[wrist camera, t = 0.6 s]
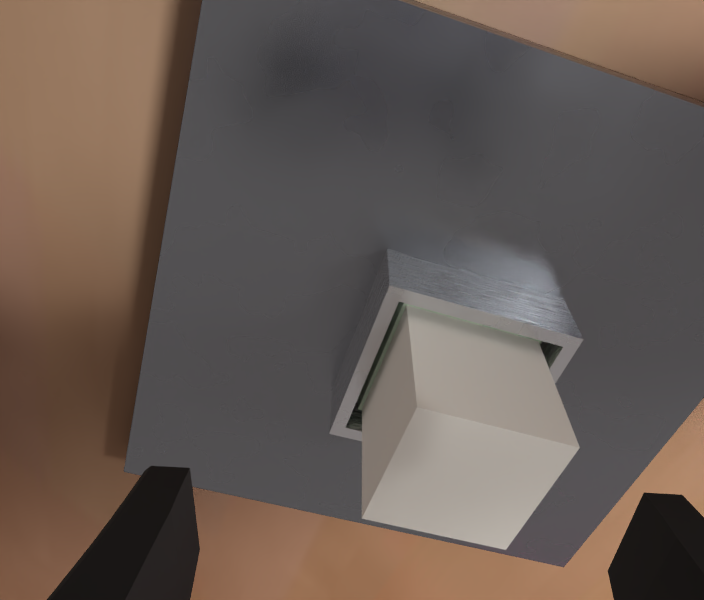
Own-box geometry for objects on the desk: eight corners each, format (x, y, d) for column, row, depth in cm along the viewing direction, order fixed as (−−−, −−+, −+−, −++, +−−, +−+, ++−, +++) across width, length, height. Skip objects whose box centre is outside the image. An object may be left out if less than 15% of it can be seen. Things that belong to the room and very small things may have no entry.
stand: (864, 158, 17) (976, 218, 14) (557, 546, 27) (583, 634, 24) (222, -68, 15) (182, -57, 11) (132, 451, 24) (96, 536, 21)
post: (532, 311, 19) (586, 445, 14) (476, 409, 21) (507, 553, 17) (402, 275, 18) (414, 402, 14) (358, 380, 21) (356, 520, 16)
